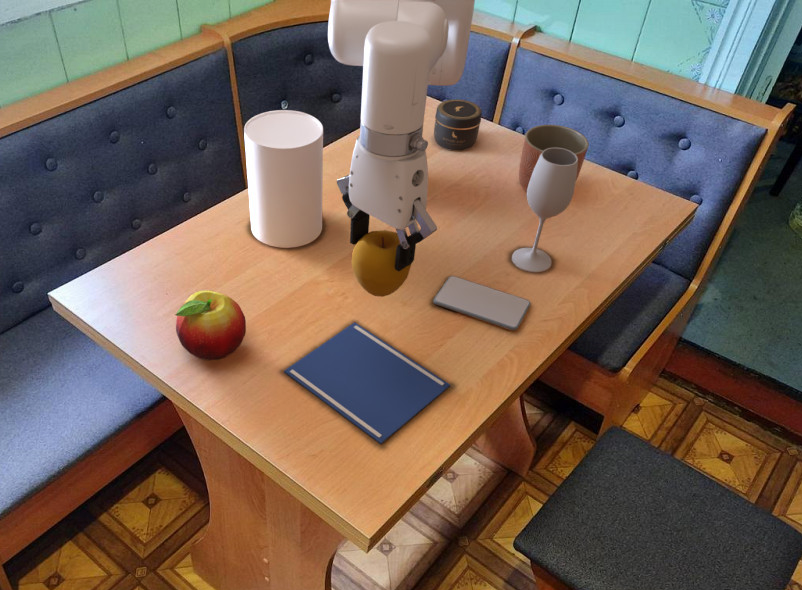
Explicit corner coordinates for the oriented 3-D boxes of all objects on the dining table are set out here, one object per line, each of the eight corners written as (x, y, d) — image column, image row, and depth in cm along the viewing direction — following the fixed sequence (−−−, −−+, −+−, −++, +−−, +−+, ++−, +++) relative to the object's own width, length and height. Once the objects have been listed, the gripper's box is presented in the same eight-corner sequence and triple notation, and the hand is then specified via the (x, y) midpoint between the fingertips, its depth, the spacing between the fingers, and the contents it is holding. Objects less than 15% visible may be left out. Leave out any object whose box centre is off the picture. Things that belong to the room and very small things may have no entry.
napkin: (283, 372, 112) (283, 370, 112) (354, 323, 120) (354, 321, 120) (380, 444, 103) (381, 442, 102) (450, 386, 111) (450, 384, 110)
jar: (430, 149, 161) (434, 117, 155) (434, 128, 168) (438, 96, 162) (475, 154, 160) (481, 121, 154) (477, 132, 167) (483, 100, 161)
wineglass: (552, 275, 131) (584, 171, 115) (509, 269, 131) (535, 165, 116) (552, 251, 136) (582, 148, 121) (511, 245, 137) (536, 142, 121)
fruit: (259, 354, 114) (256, 306, 107) (196, 380, 110) (188, 331, 103) (229, 315, 121) (223, 267, 113) (168, 338, 116) (158, 290, 109)
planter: (517, 168, 156) (528, 120, 148) (576, 177, 154) (590, 129, 146) (511, 198, 148) (522, 149, 140) (572, 209, 146) (587, 159, 138)
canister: (280, 256, 132) (276, 157, 118) (237, 223, 139) (228, 125, 125) (336, 229, 139) (339, 131, 124) (292, 199, 145) (290, 103, 131)
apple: (378, 263, 110) (383, 212, 103) (420, 289, 105) (428, 237, 99) (338, 286, 105) (340, 235, 99) (381, 314, 101) (386, 262, 95)
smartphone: (450, 274, 129) (532, 300, 124) (449, 278, 129) (531, 304, 124) (431, 300, 123) (516, 329, 119) (431, 304, 124) (515, 333, 119)
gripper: (467, 150, 86) (447, 269, 98) (359, 100, 94) (353, 216, 107) (427, 173, 82) (411, 294, 95) (318, 119, 90) (317, 237, 103)
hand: (381, 252), depth 100 cm, fingers closed on apple, 7 cm apart
